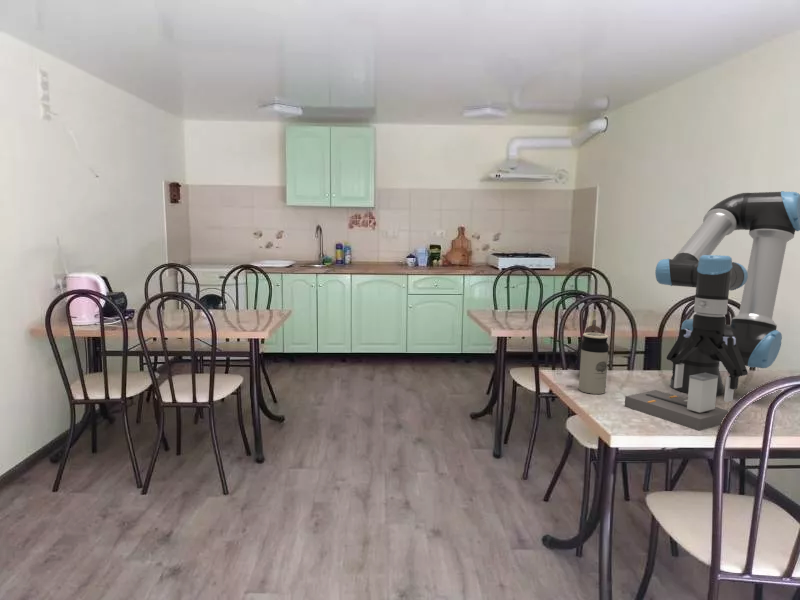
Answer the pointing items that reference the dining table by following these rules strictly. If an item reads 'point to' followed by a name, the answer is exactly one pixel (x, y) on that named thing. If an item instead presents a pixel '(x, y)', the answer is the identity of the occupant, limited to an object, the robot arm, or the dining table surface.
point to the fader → (702, 392)
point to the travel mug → (593, 363)
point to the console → (674, 409)
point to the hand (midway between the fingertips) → (702, 394)
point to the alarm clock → (591, 331)
